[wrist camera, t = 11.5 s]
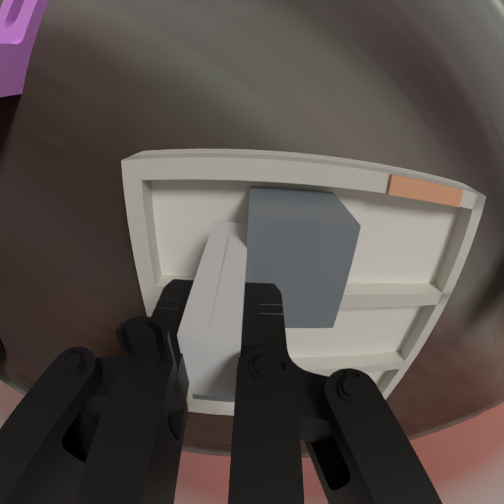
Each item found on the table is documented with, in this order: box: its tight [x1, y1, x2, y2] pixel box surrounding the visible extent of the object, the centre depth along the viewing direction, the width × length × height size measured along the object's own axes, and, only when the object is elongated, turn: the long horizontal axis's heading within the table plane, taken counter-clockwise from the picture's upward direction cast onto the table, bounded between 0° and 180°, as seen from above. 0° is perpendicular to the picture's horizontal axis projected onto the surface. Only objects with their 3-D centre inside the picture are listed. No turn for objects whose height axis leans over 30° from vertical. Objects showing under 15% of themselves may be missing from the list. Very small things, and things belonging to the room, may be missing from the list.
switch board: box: [121, 149, 486, 416], centre depth 18 cm, size 20×22×3 cm
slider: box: [246, 186, 361, 328], centre depth 12 cm, size 4×5×4 cm
